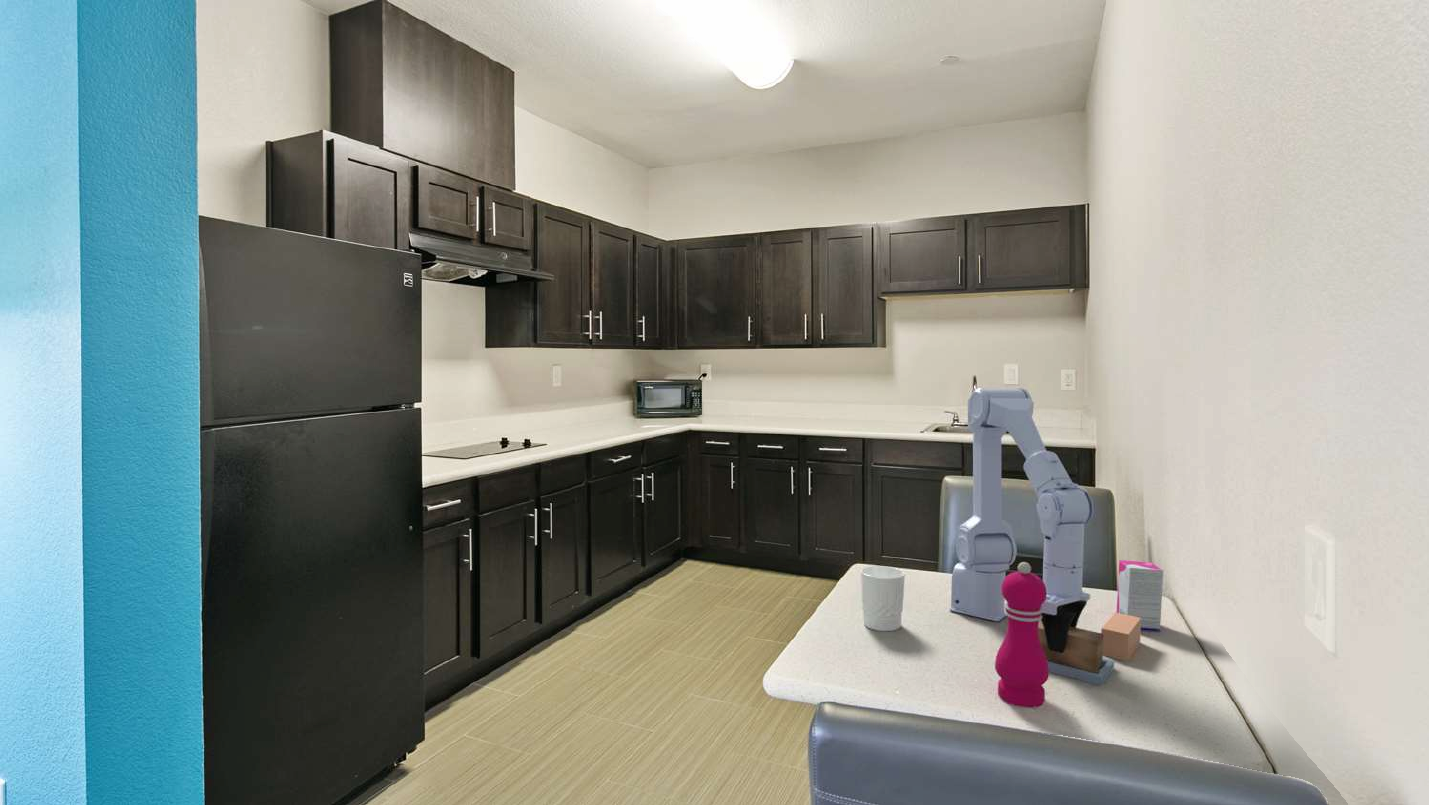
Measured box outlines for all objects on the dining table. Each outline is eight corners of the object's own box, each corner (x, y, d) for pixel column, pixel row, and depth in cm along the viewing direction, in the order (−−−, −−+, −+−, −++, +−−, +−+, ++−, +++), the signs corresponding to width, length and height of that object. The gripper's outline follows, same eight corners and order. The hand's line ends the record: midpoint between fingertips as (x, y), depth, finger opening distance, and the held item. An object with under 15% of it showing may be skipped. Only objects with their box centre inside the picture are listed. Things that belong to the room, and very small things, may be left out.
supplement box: (1161, 632, 130) (1164, 569, 129) (1125, 629, 131) (1128, 568, 130) (1149, 620, 135) (1151, 561, 135) (1115, 618, 136) (1117, 559, 136)
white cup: (856, 629, 131) (857, 575, 130) (864, 615, 138) (865, 564, 138) (900, 635, 128) (901, 580, 127) (906, 620, 135) (907, 568, 135)
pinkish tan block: (1100, 655, 120) (1101, 628, 120) (1114, 638, 127) (1115, 612, 127) (1127, 662, 117) (1128, 634, 117) (1140, 643, 125) (1141, 618, 125)
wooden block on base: (1022, 654, 118) (1022, 624, 117) (1029, 646, 121) (1030, 617, 120) (1096, 673, 110) (1097, 641, 110) (1102, 664, 114) (1103, 633, 113)
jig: (995, 664, 116) (995, 657, 115) (1023, 639, 126) (1023, 632, 126) (1096, 692, 106) (1097, 684, 106) (1118, 662, 117) (1118, 655, 116)
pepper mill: (985, 687, 108) (988, 556, 106) (1031, 685, 108) (1035, 555, 107) (1009, 710, 100) (1012, 570, 99) (1058, 708, 101) (1062, 569, 100)
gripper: (1077, 578, 107) (1075, 667, 108) (1101, 558, 118) (1098, 639, 118) (1028, 569, 111) (1026, 655, 112) (1055, 551, 122) (1053, 629, 123)
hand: (1060, 646), depth 116 cm, fingers closed on wooden block on base, 4 cm apart
